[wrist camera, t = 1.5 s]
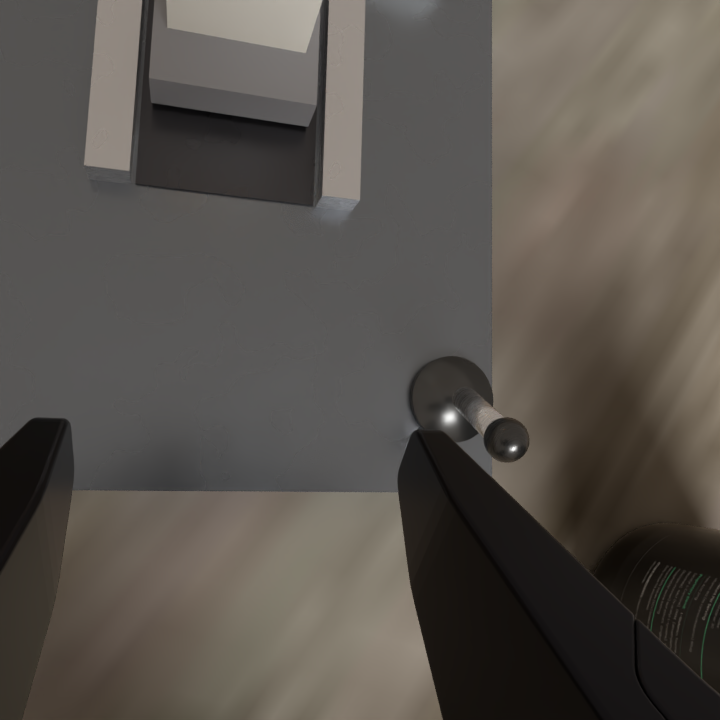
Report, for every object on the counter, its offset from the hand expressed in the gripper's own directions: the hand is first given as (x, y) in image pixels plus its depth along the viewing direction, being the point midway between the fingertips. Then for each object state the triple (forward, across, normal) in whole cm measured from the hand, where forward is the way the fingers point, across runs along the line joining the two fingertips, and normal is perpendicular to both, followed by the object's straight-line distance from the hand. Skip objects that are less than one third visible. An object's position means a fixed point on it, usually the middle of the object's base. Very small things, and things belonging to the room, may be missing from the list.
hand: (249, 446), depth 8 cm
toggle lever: (+8, -8, +6) cm, 13 cm away
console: (+16, 0, +1) cm, 16 cm away
